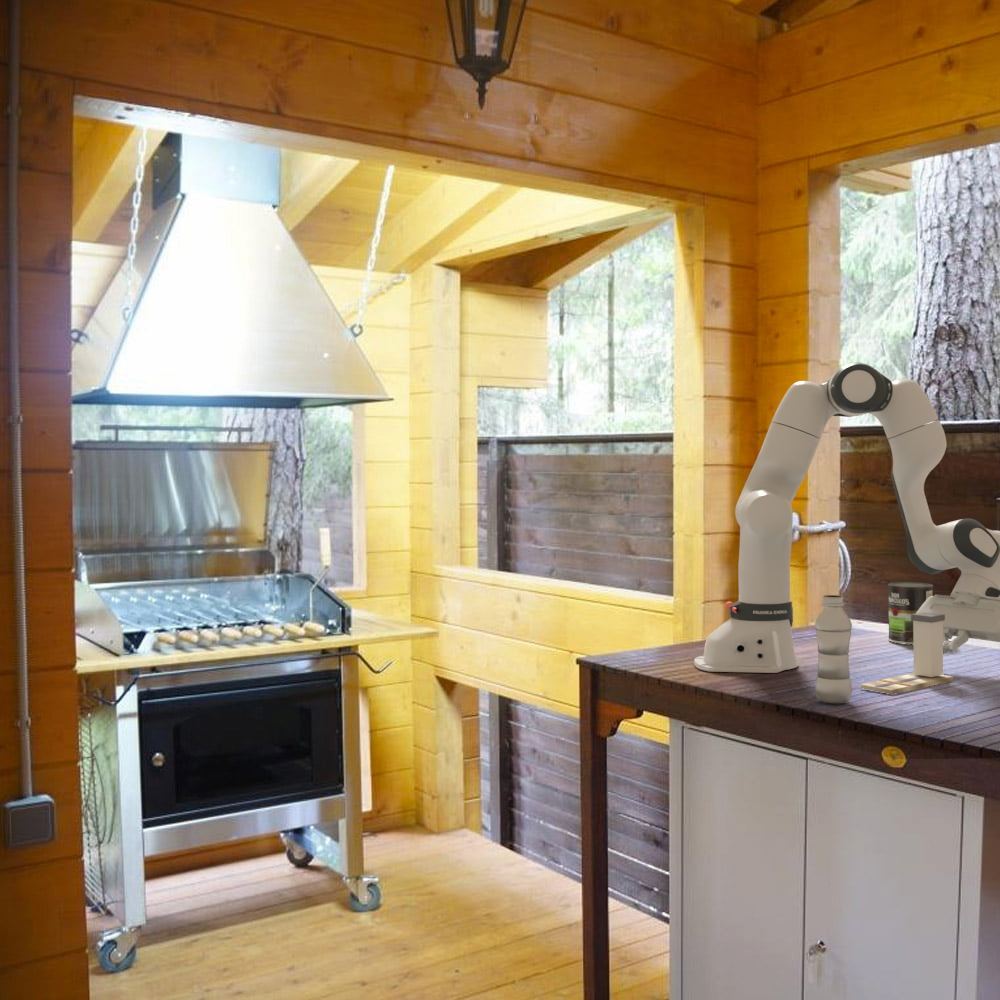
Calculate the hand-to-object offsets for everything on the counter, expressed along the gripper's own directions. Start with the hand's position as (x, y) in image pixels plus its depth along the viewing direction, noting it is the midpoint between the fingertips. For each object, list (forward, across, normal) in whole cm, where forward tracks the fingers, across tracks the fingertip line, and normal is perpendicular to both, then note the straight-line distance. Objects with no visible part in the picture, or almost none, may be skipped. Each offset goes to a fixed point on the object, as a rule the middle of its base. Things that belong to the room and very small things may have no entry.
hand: (947, 650), depth 229 cm
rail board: (+13, 0, -6) cm, 14 cm away
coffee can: (-18, -30, +26) cm, 44 cm away
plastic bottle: (+30, +1, -22) cm, 37 cm away
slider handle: (+7, 0, -2) cm, 8 cm away
